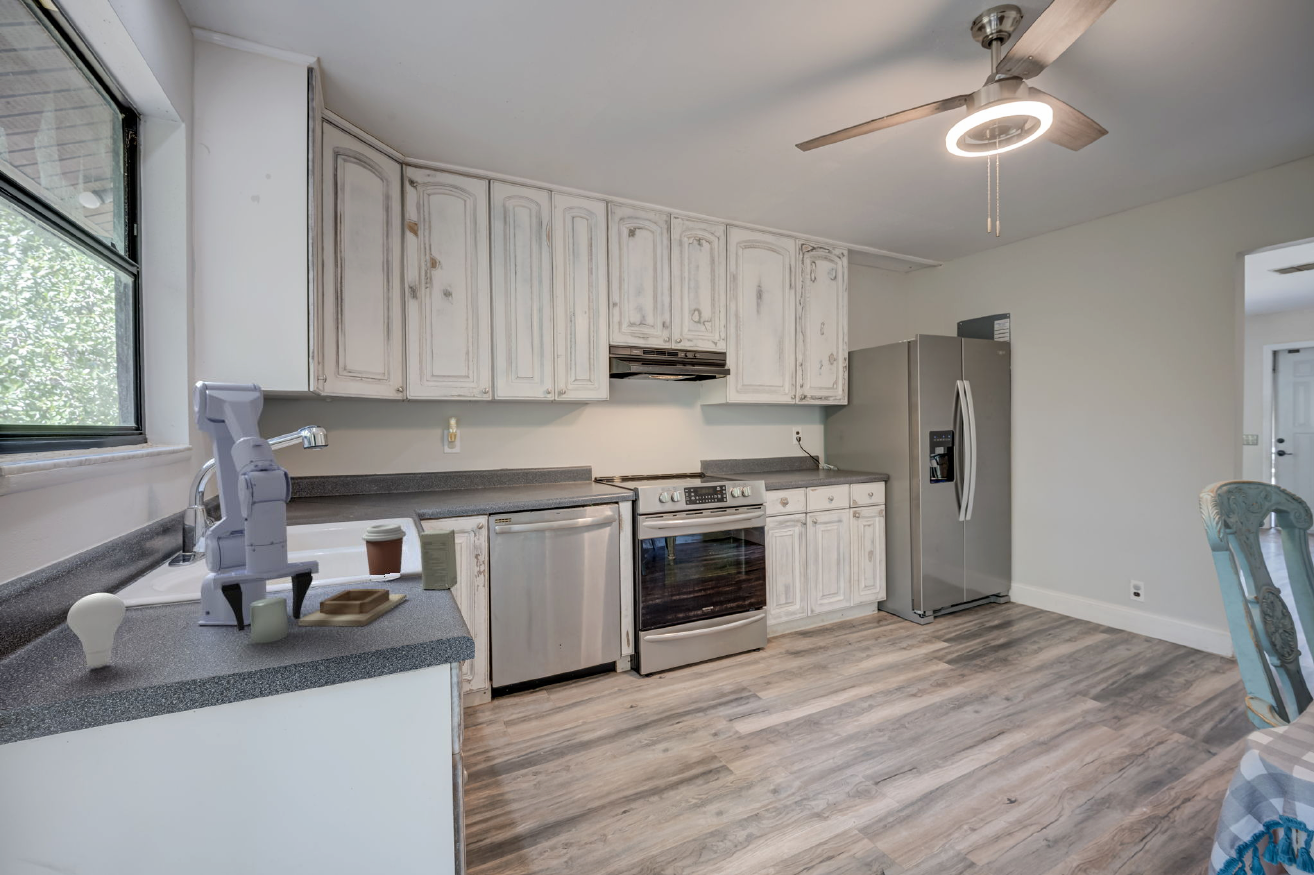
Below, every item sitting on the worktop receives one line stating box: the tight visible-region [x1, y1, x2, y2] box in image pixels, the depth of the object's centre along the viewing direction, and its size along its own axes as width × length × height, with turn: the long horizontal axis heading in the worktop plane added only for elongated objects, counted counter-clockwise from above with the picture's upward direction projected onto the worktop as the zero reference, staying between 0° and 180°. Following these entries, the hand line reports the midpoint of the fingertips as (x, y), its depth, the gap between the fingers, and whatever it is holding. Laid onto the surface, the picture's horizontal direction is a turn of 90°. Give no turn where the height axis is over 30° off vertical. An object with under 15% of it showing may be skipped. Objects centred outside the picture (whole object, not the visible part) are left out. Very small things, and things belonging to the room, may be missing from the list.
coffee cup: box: [361, 523, 407, 577], centre depth 130 cm, size 9×9×12 cm
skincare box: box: [419, 528, 458, 590], centre depth 122 cm, size 6×4×12 cm
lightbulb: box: [66, 592, 126, 669], centre depth 83 cm, size 6×6×11 cm
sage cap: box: [250, 596, 289, 644], centre depth 94 cm, size 5×5×6 cm
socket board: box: [297, 588, 407, 627], centre depth 107 cm, size 12×15×3 cm
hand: (269, 623), depth 94 cm, fingers open, 7 cm apart
